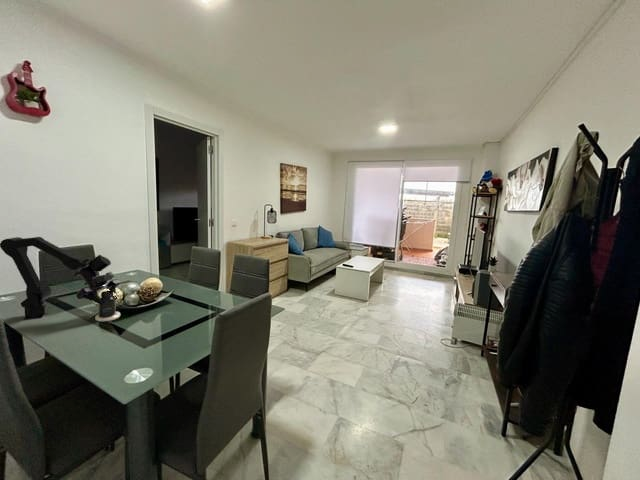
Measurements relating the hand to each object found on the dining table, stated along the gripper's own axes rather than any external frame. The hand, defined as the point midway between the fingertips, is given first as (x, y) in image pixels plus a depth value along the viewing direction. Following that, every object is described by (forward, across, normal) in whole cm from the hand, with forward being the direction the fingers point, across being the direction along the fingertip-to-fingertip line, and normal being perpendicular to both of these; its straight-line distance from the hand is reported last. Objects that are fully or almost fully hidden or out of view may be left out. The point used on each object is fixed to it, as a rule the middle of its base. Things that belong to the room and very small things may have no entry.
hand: (109, 301), depth 135 cm
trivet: (+5, 0, +7) cm, 9 cm away
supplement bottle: (+4, 0, +6) cm, 8 cm away
